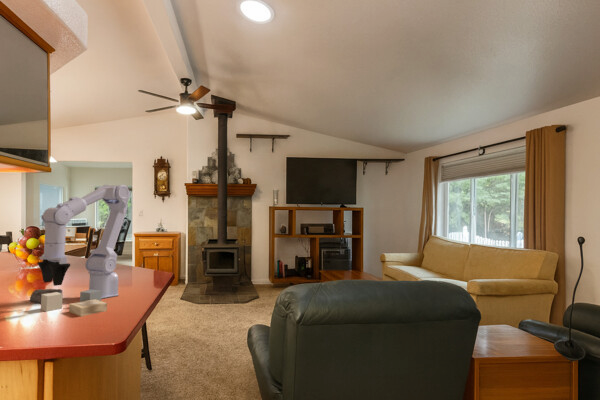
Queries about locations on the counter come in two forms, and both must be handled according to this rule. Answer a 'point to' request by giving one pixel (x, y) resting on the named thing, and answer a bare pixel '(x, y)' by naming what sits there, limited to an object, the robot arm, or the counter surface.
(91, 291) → the slate cube
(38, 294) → the rock
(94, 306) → the maple slab
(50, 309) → the ivory cube
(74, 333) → the counter surface
